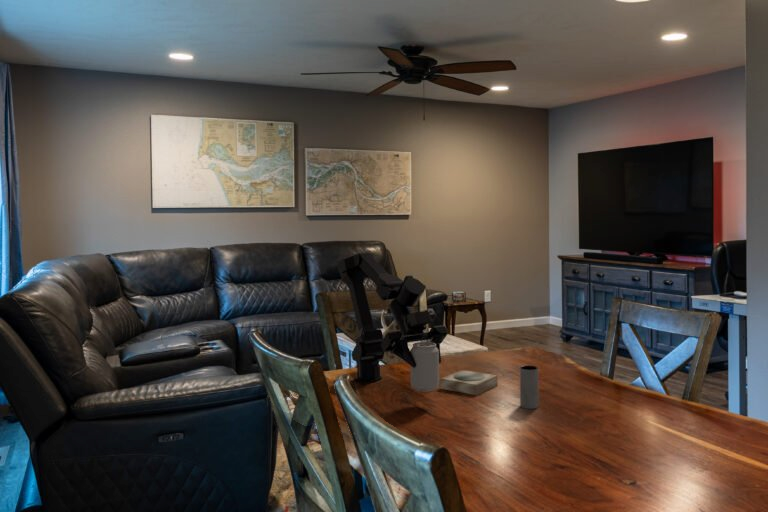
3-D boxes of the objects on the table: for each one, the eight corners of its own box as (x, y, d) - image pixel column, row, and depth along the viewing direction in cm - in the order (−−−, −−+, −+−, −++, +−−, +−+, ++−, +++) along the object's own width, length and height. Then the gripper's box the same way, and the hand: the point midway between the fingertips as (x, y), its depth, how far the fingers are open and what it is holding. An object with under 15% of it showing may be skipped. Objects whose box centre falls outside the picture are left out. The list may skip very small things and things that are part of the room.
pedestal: (440, 388, 178) (440, 377, 178) (462, 379, 188) (462, 369, 187) (477, 395, 171) (477, 384, 171) (497, 385, 180) (497, 374, 180)
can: (439, 384, 166) (438, 340, 165) (438, 392, 158) (438, 346, 157) (411, 384, 166) (411, 340, 166) (409, 392, 159) (409, 346, 158)
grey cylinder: (518, 407, 159) (518, 368, 158) (523, 402, 163) (522, 364, 162) (535, 410, 157) (535, 370, 156) (540, 405, 161) (539, 366, 160)
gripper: (385, 301, 159) (408, 352, 151) (444, 296, 169) (469, 343, 160) (371, 327, 167) (392, 376, 158) (428, 320, 176) (451, 366, 167)
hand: (427, 364), depth 161 cm, fingers closed on can, 7 cm apart
